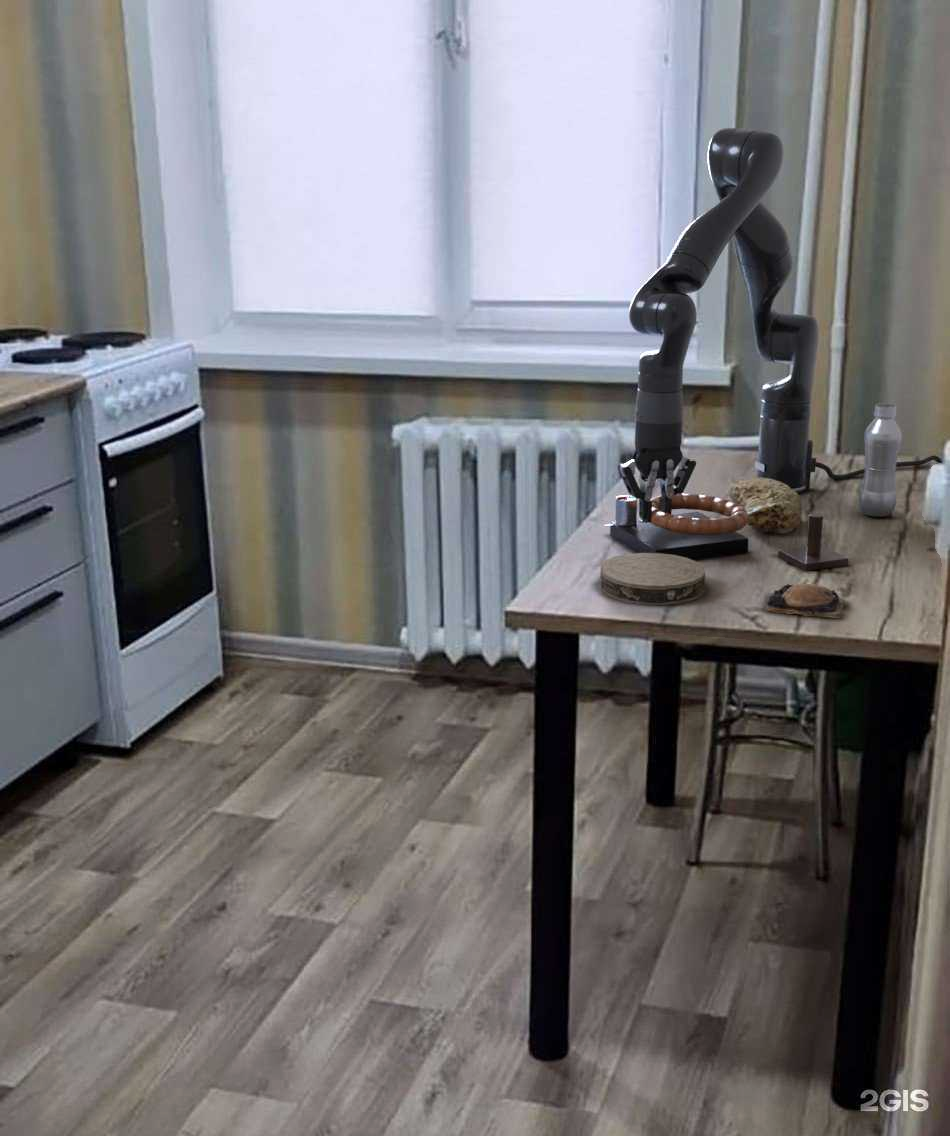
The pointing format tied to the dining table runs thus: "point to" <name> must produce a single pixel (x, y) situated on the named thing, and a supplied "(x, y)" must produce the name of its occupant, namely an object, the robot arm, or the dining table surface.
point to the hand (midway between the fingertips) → (655, 520)
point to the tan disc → (652, 578)
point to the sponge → (768, 504)
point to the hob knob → (626, 510)
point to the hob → (678, 540)
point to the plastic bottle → (880, 462)
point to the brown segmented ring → (696, 526)
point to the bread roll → (806, 601)
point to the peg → (813, 550)
